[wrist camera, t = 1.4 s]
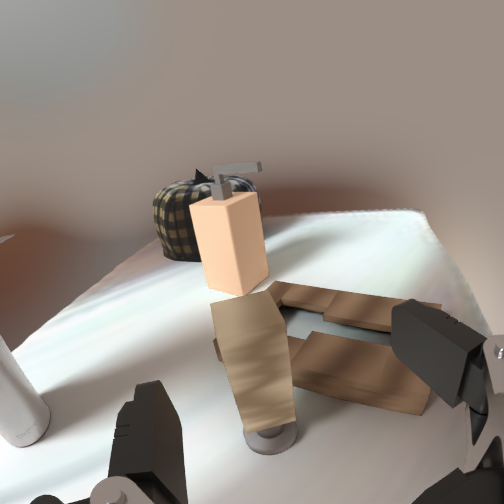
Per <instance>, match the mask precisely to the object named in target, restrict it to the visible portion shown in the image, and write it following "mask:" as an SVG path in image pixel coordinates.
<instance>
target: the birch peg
mask: <svg viewBox="0 0 504 504" xmlns="http://www.w3.org/2000/svg"><path fill="white" fill-rule="evenodd" d="M210 306H211V311H212V317H213V322H214V327H215V333H216V338H217V342H218V345H219V349H220V352H221V355H222V359H223V362H224V366H225V369H226V372H227V375H228V379H229V382H230V385H231V388H232V392H233V395H234V398H235V401H236V404H237V407H238V410H239V413H240V416H241V419H242V422H243V425H244V428H243V434H244V437H245V440H246V443H247V445H248V446H249V447H250V448H251V449H252V450H253V451H255V452H257V453H259V454H263V455H275V454H279V453H282V452H284V451H285V450H287V449H288V448H290V447H291V446H292V444H293V443H294V441H295V439H296V436H297V429H296V422H295V421H296V413H295V404H294V394H293V384H292V375H291V366H290V357H289V348H288V340H287V331H286V323H285V320H284V318H283V317H282V315H281V313H280V311H279V309H278V308H277V306H276V304H275V302H274V300H273V299H272V297H271V295H270V293H269V291H268V290H266V291H261V292H257V293H253V294H249V295H245V296H241V297H237V298H233V299H228V300H224V301H220V302H215V303H211V304H210Z"/></svg>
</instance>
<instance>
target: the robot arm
mask: <svg viewBox="0 0 504 504" xmlns="http://www.w3.org/2000/svg"><path fill="white" fill-rule="evenodd" d="M391 347H392V350H393V352H394V354H395V356H396V357H397V358H398V359H399V360H400V361H401V362H402V363H403V364H405V365H406V366H407V367H408V368H409V369H410V370H411V371H412V372H413V373H415V374H416V375H417V376H418V377H419V378H420V379H421V380H422V381H423V382H424V383H426V384H427V385H428V386H429V387H430V388H431V389H432V390H433V391H434V392H435V393H436V394H438V395H439V396H440V397H441V398H442V399H443V400H444V401H445V402H446V403H447V404H448V405H450V406H451V407H452V408H454V407H455V406H457V405H458V404H460V403H461V402H462V401H465V402H466V403H467V404H466V408H465V415H466V429H467V458H466V462H465V465H464V469H463V472H462V471H461V470H460V469H459V468H456V469H455V470H454V471H452V472H451V473H450V474H448V475H447V476H446V477H444V478H443V479H441V480H440V481H438V482H437V483H435V484H434V485H432V486H431V487H429V488H428V489H426V490H425V491H424V492H423V493H422V494H421V495H420V496H419V497H418V498H417V499H416V500H415V501H414V502H413V503H412V504H504V335H495V336H492V337H490V338H488V339H487V338H486V337H484V336H483V335H481V334H479V333H478V332H476V331H475V330H473V329H471V328H470V327H468V326H466V325H465V324H463V323H462V322H458V320H457V319H455V318H453V317H450V315H448V314H447V313H445V312H443V311H442V310H440V309H436V308H432V307H429V306H425V305H423V304H421V303H420V302H418V301H416V300H415V299H409V300H407V301H404V302H402V303H400V304H398V305H395V306H394V307H393V308H392V311H391ZM49 421H50V411H49V408H48V407H47V405H46V404H45V403H44V401H43V400H42V399H41V397H40V396H39V394H38V393H37V392H36V390H35V389H34V387H33V386H32V384H31V383H30V382H29V380H28V379H27V377H26V376H25V374H24V373H23V371H22V370H21V368H20V367H19V365H18V363H17V362H16V360H15V359H14V357H13V355H12V354H11V352H10V351H9V349H8V347H7V345H6V344H5V342H4V340H3V339H2V337H1V335H0V434H1V435H2V436H3V437H4V438H5V439H6V440H7V442H8V443H10V444H11V445H13V446H16V447H24V446H28V445H30V444H32V443H34V442H35V441H37V440H38V439H39V438H40V437H41V436H42V435H43V434H44V432H45V431H46V429H47V427H48V424H49ZM114 438H115V439H113V445H112V451H111V458H110V464H109V472H108V478H106V479H104V480H102V481H101V482H99V483H98V484H97V485H96V486H95V487H94V489H93V490H92V492H91V496H90V497H89V498H87V499H83V500H79V501H76V502H72V503H68V504H188V498H187V488H186V477H185V466H184V453H183V438H182V427H181V422H180V419H179V416H178V414H177V412H176V410H175V408H174V406H173V404H172V402H171V400H170V398H169V396H168V394H167V392H166V390H165V388H164V386H163V385H162V383H161V382H160V381H159V380H157V381H152V382H147V383H142V384H137V385H136V388H135V394H134V400H133V401H130V402H126V403H125V404H124V406H123V407H122V409H121V410H120V412H119V413H118V416H117V422H116V429H115V433H114ZM30 504H64V503H63V502H62V501H60V500H59V499H58V498H57V497H55V496H52V495H42V496H39V497H37V498H35V499H34V500H33V501H32V502H31V503H30Z"/></svg>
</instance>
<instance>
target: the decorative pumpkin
mask: <svg viewBox="0 0 504 504" xmlns="http://www.w3.org/2000/svg"><path fill="white" fill-rule="evenodd" d="M223 176H224V182H230V183H231V188H232V192H257V197H258V203H259V210H260V216H261V223H262V209H261V202H260V197H259V193H258V191H257V189H256V187H255V185H254V183H253V182H252V181H250V180H248V179H247V178H245V177H242V176H237V175H226V174H223ZM214 184H215V178H214V176H213V177H211V176H208V177H205V176H204V175H203V174H202V173H201V172H199V171H198V170H197V169H196V175H195V178H194V179H191V180H183V181H177V182H175V183H173V184H171V185H170V186H168V187H165V188H164V189H162V190H161V191H159V192H158V193H157V194H156V196H155V199H154V201H153V215H154V221H155V225H156V231H157V233H158V236H159V239H160V242H161V244H162V246H163V253H164V256H165V257H167V258H169V259H172V260H175V261H187V262H202V260H201V256H200V252H199V248H198V243H197V239H196V235H195V230H194V226H193V222H192V217H191V212H190V208H189V205H191V204H194V203H196V202H199V201H201V200H203V199H206V198H208V197H211V196H212V193H211V188H210V186H211V185H214Z"/></svg>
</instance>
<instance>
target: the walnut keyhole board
mask: <svg viewBox="0 0 504 504" xmlns="http://www.w3.org/2000/svg"><path fill="white" fill-rule="evenodd" d="M266 290H268V291H269V293H270V295H271V297H272V299H273V300H274V302H275V304H276V306H277V308H278V309H279V308H280V307H281V306H286V307H291V308H297V309H302V310H307V311H312V312H318V313H323V321H328V322H334V323H339V324H344V325H350V326H356V327H361V328H367V329H373V330H379V331H385V332H391V311H392V308H393V307H394V306H395V305H398V304H400V303H402V302H404V301H407V300H403V299H396V298H388V297H381V296H374V295H367V294H360V293H353V292H346V291H339V290H332V289H325V288H319V287H312V286H306V285H299V284H293V283H286V282H280V281H274V282H273V283H272V284H271V285H270V286H269V287H268V288H267V289H266ZM266 290H265V291H266ZM420 303H421V304H423V305H425V306H429V307H432V308H436V309H440V310H441V305H442V304H434V303H426V302H420ZM287 340H288V348H289V357H290V366H291V375H292V384H293V386H296V387H299V388H302V389H306V390H309V391H313V392H317V393H320V394H324V395H328V396H331V397H335V398H339V399H343V400H347V401H351V402H356V403H360V404H364V405H369V406H373V407H378V408H383V409H388V410H393V411H398V412H404V413H409V414H415V415H421V416H422V413H423V411H424V408H425V406H426V403H427V401H428V398H429V395H430V391H431V388H430V387H429V386H428V385H427V384H426V383H424V382H423V381H422V380H421V379H420V378H419V377H418V376H417V375H416V374H415V373H413V372H412V371H411V370H410V369H409V368H408V367H407V366H406V365H405V364H403V363H402V362H401V361H400V360H399V359H398V358H397V357H396V356H395V354H394V352H393V350H392V347H391V346H388V345H382V344H377V343H371V342H366V341H360V340H355V339H350V338H344V337H339V336H334V335H329V334H324V333H320V332H315V331H312V332H311V333H310V335H309V336H308V338H307V339H306V340H304V339H300V338H295V337H291V336H287ZM213 343H214V346H215V349H216V353H217V356H218V359H219V361H222V362H223V359H222V355H221V352H220V349H219V345H218V342H217V338H215V339H214V340H213Z"/></svg>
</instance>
